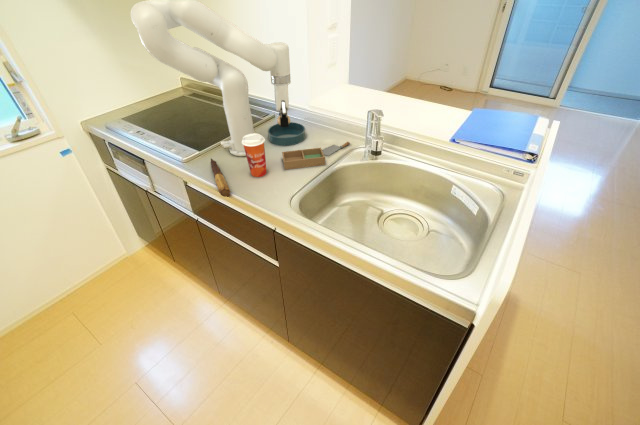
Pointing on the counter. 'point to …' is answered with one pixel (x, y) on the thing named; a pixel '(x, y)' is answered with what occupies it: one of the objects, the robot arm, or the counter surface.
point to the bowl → (286, 134)
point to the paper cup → (255, 154)
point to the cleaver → (333, 149)
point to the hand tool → (220, 180)
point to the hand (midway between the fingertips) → (284, 123)
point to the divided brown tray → (303, 158)
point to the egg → (279, 120)
